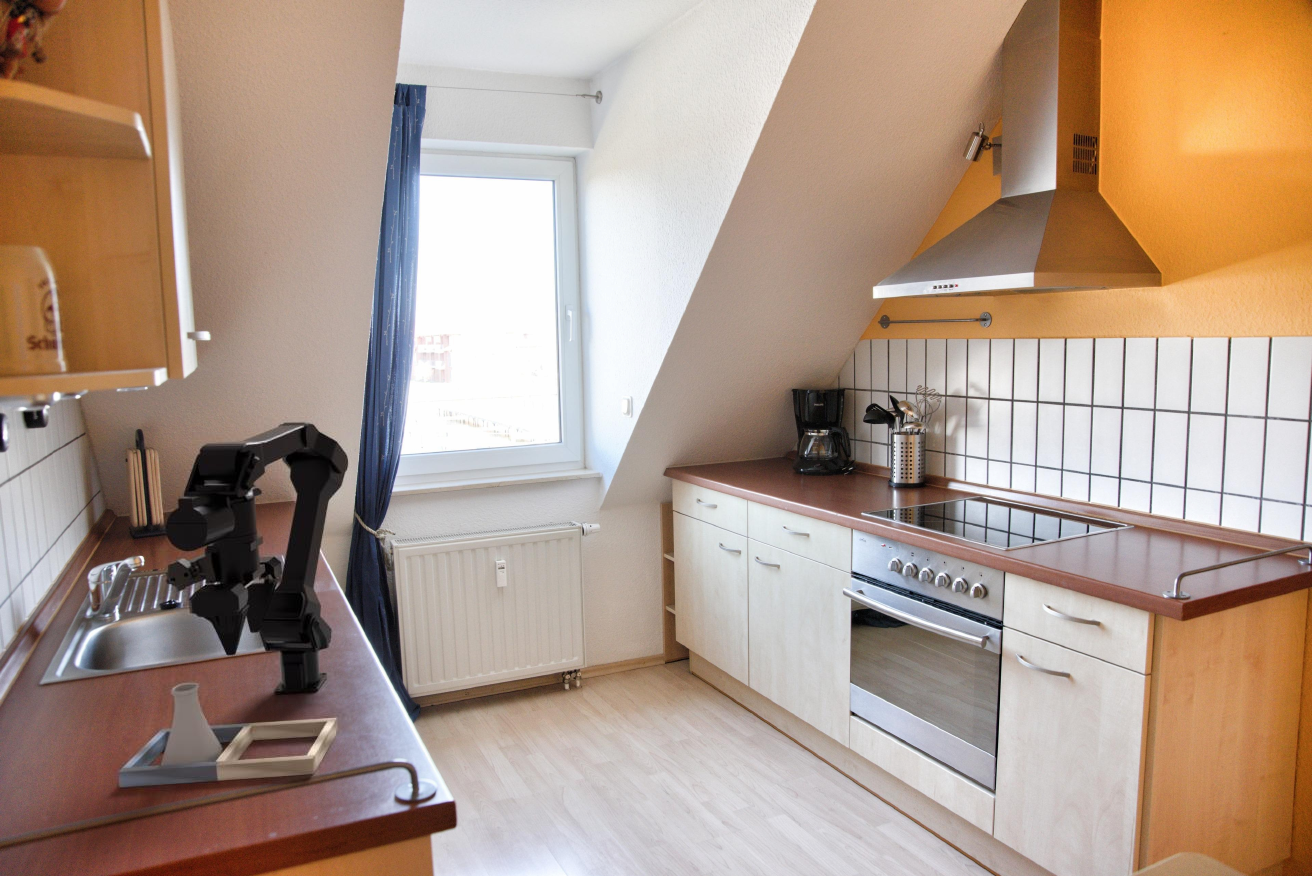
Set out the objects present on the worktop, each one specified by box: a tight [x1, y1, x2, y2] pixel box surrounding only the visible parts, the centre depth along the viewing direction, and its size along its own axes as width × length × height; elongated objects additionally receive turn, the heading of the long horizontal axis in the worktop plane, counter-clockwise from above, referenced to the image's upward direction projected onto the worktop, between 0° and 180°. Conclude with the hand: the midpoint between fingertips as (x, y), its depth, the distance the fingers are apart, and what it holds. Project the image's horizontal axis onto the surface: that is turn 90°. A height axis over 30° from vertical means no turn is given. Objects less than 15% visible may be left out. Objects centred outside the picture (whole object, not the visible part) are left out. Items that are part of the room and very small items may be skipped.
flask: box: [160, 682, 223, 765], centre depth 115 cm, size 7×7×10 cm
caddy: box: [117, 717, 339, 788], centre depth 116 cm, size 12×23×2 cm, turn 96°
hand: (243, 643), depth 124 cm, fingers open, 9 cm apart
